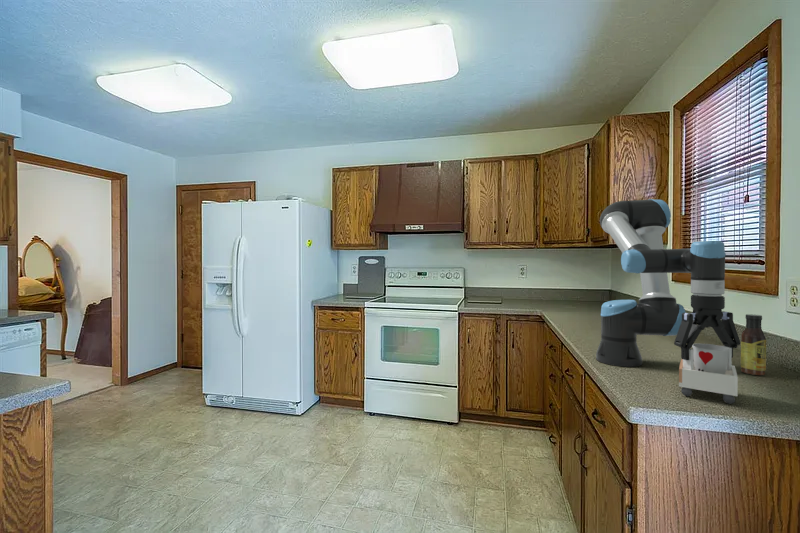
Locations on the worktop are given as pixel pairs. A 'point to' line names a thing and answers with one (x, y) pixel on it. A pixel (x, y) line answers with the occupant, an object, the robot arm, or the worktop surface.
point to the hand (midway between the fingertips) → (707, 370)
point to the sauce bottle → (753, 347)
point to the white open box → (709, 382)
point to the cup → (710, 358)
